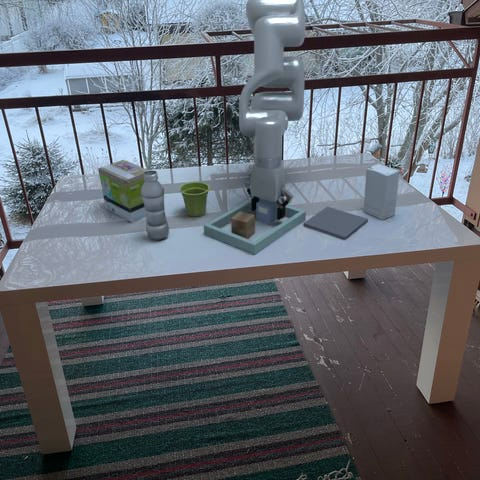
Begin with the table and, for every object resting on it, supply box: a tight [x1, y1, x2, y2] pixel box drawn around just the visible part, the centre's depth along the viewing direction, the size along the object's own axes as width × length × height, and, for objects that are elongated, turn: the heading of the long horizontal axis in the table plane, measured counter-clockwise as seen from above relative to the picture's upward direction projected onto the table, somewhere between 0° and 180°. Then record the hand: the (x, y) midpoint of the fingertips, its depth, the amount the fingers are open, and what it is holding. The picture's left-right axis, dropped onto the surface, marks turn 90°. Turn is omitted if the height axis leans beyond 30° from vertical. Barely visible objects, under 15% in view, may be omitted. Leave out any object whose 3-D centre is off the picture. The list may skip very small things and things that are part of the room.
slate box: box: [255, 199, 279, 226], centre depth 144 cm, size 5×5×6 cm
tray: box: [203, 198, 307, 255], centre depth 141 cm, size 19×25×3 cm
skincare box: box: [362, 163, 400, 221], centre depth 144 cm, size 8×6×15 cm
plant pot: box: [179, 181, 211, 217], centre depth 149 cm, size 9×9×9 cm
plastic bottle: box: [141, 170, 170, 240], centre depth 133 cm, size 6×7×20 cm
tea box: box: [97, 159, 150, 224], centre depth 149 cm, size 15×10×15 cm, turn 47°
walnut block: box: [230, 212, 256, 240], centre depth 136 cm, size 5×5×6 cm
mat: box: [302, 206, 369, 241], centre depth 142 cm, size 14×14×1 cm
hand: (267, 213), depth 145 cm, fingers open, 9 cm apart
